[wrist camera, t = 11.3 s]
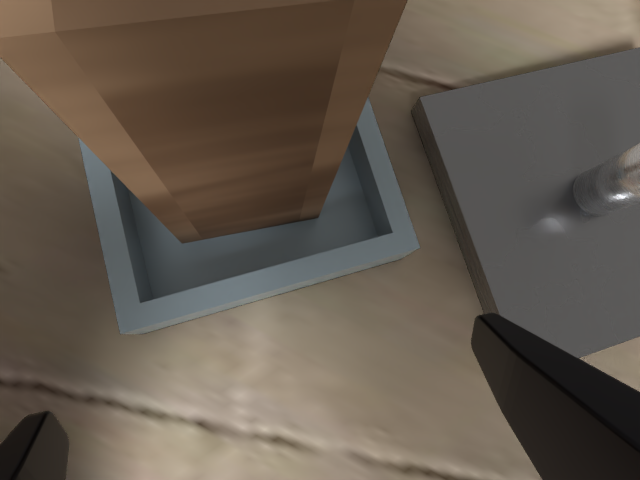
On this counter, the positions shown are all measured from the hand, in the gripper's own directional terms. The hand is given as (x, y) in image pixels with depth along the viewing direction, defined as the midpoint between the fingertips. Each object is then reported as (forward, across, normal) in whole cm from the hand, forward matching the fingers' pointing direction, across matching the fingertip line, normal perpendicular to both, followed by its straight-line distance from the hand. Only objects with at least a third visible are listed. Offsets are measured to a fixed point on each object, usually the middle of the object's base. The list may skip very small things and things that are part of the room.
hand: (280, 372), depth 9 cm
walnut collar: (+10, 0, 0) cm, 11 cm away
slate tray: (+11, 0, 0) cm, 11 cm away
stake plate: (+8, -14, +3) cm, 17 cm away
